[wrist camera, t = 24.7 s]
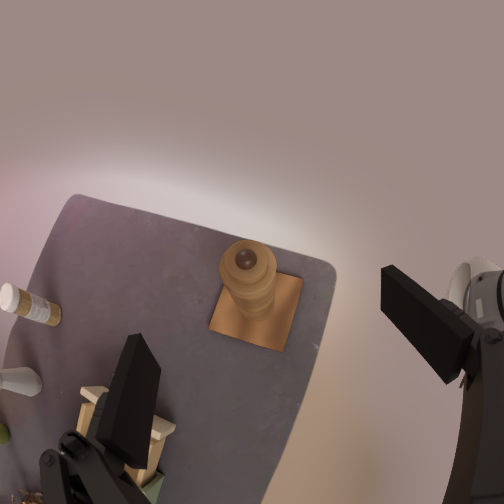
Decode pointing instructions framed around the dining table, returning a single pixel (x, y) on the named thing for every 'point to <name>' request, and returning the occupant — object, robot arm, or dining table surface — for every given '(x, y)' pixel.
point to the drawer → (156, 443)
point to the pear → (3, 434)
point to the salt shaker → (21, 381)
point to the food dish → (31, 498)
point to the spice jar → (29, 305)
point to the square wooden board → (268, 330)
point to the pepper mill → (250, 278)
